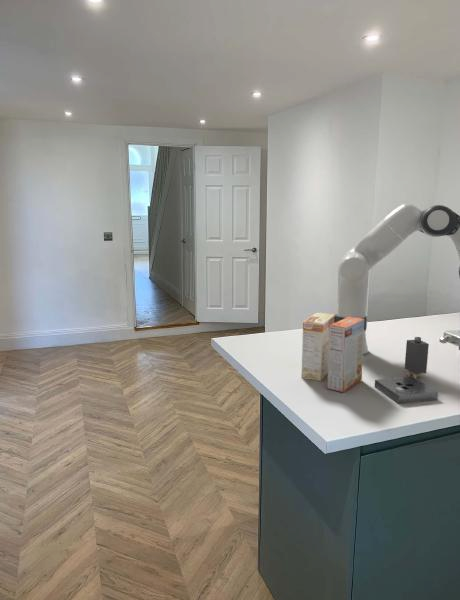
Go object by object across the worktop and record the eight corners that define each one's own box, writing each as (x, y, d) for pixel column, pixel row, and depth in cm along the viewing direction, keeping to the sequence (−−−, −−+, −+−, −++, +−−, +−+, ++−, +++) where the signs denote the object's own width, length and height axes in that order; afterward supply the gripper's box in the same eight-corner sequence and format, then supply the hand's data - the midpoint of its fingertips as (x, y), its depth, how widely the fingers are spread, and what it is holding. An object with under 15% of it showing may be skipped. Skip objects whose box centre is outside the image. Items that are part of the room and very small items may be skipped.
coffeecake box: (313, 364, 166) (315, 312, 162) (333, 367, 163) (335, 314, 159) (300, 378, 153) (302, 321, 149) (321, 381, 150) (323, 323, 146)
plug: (404, 374, 156) (407, 335, 154) (415, 373, 157) (418, 335, 155) (414, 379, 151) (417, 340, 148) (425, 378, 152) (429, 339, 149)
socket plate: (374, 387, 145) (375, 377, 144) (410, 383, 148) (411, 373, 147) (398, 403, 132) (399, 393, 132) (437, 399, 135) (438, 389, 135)
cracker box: (345, 376, 154) (348, 315, 150) (362, 380, 151) (366, 318, 147) (325, 388, 144) (328, 323, 140) (343, 393, 140) (346, 327, 136)
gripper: (464, 325, 167) (430, 327, 164) (509, 339, 148) (473, 343, 145) (462, 341, 168) (429, 344, 165) (507, 358, 149) (471, 362, 146)
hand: (450, 344), depth 155 cm, fingers open, 8 cm apart
